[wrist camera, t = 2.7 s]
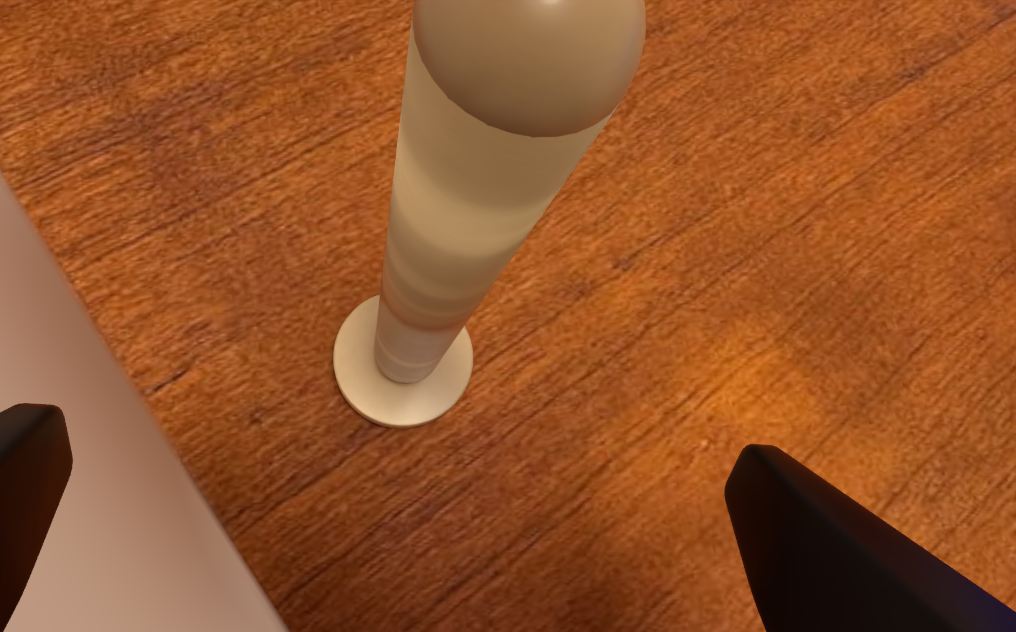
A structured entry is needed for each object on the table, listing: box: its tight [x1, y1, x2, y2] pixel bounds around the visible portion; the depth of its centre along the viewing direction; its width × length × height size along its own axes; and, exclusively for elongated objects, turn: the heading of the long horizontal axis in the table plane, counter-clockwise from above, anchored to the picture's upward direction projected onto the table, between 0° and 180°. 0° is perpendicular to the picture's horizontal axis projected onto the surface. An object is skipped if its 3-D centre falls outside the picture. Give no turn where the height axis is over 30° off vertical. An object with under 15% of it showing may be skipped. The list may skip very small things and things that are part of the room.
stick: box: [333, 0, 646, 429], centre depth 12 cm, size 4×4×16 cm
